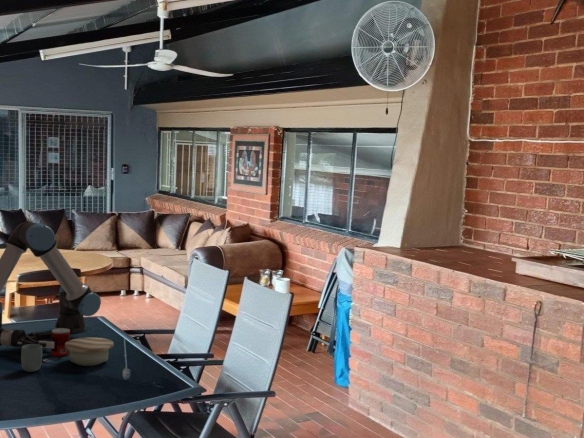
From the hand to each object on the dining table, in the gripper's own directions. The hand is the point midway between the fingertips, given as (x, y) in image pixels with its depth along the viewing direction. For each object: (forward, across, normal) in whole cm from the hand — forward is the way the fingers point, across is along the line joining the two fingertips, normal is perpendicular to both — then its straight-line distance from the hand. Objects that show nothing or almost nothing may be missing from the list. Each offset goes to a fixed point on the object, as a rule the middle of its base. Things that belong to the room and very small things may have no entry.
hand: (60, 341), depth 293 cm
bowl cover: (+16, +7, +1) cm, 17 cm away
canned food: (0, 0, -6) cm, 6 cm away
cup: (-2, +24, -6) cm, 25 cm away
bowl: (+16, +7, -6) cm, 18 cm away
